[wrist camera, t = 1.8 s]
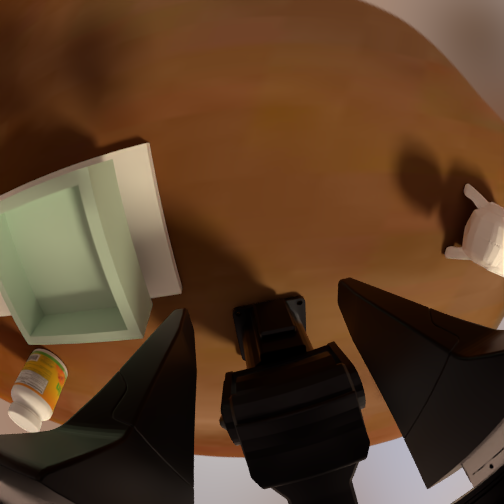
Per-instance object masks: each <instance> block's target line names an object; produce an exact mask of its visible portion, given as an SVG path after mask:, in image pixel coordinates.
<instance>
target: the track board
mask: <svg viewBox="0 0 504 504" xmlns="http://www.w3.org/2000/svg"><path fill="white" fill-rule="evenodd" d="M111 159H113V163H114V168H115V173H116V178H117V182H118V187H119V191H120V195H121V200H122V204H123V208H124V212H125V216H126V220H127V223H128V227H129V231H130V234H131V238H132V241H133V245H134V248H135V252H136V255H137V258H138V261H139V265H140V268H141V271H142V274H143V277H144V280H145V283H146V286H147V289H148V292H149V295H150V298H156V297H163V296H169V295H176V294H181V292H182V284H181V281H180V277H179V274H178V270H177V266H176V262H175V259H174V255H173V251H172V247H171V243H170V239H169V235H168V231H167V227H166V222H165V218H164V214H163V209H162V205H161V200H160V196H159V191H158V186H157V181H156V176H155V171H154V166H153V160H152V155H151V149H150V143H145V144H141V145H137V146H133V147H129V148H126V149H122V150H118V151H115V152H112V153H108V154H105V155H102V156H98V157H95V158H92V159H89V160H86V161H83V162H80V163H77V164H74V165H72V166H69V167H66V168H63V169H61V170H58V171H55V172H53V173H50V174H48V175H45V176H43V177H40V178H38V179H36V180H33V181H31V182H29V183H26V184H24V185H22V186H20V187H17V188H15V189H13V190H11V191H9V192H7V193H5V194H3V195H1V196H0V201H2V200H4V199H6V198H8V197H10V196H12V195H15V194H17V193H19V192H21V191H24V190H26V189H28V188H31V187H33V186H36V185H38V184H41V183H43V182H46V181H48V180H51V179H53V178H56V177H59V176H61V175H64V174H67V173H70V172H73V171H76V170H78V169H81V168H84V167H88V166H91V165H94V164H97V163H101V162H104V161H108V160H111ZM10 315H11V313H10V311H9V309H8V307H7V305H6V303H5V301H4V299H3V297H2V295H1V293H0V316H10Z"/></svg>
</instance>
